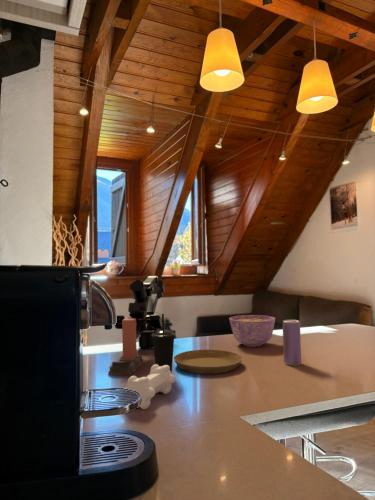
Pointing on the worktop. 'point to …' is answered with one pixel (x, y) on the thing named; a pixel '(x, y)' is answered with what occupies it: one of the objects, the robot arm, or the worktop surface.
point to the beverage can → (291, 342)
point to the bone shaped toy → (152, 383)
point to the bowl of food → (252, 329)
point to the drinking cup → (163, 346)
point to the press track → (125, 366)
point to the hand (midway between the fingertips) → (133, 340)
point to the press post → (129, 340)
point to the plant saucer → (207, 361)
